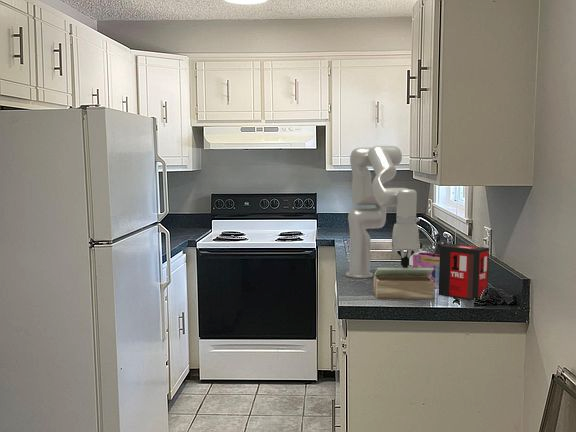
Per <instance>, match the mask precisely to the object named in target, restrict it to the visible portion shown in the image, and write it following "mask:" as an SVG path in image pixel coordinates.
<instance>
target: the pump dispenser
mask: <svg viewBox="0 0 576 432" xmlns="http://www.w3.org/2000/svg"><path fill="white" fill-rule="evenodd" d="M447 244H449V243H448V242H447V240H442V239H441V240H439V241H438V242H436V243H435V247H434V250H433V253H432V254H440V246H442V245H447Z"/></svg>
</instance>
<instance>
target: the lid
mask: <svg viewBox="0 0 576 432" xmlns="http://www.w3.org/2000/svg"><path fill="white" fill-rule="evenodd" d="M432 271H433V268H413V267H408V268H406V267H405V268H403V267H377V269H376V270H375V272H374V273H373V277H374V276H428V275H429V274H430V273H431V272H432Z"/></svg>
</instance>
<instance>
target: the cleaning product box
mask: <svg viewBox="0 0 576 432" xmlns="http://www.w3.org/2000/svg"><path fill="white" fill-rule="evenodd" d="M489 261H490V247H483V246H477V245H475V246H474V245H468V244H467V245H465V244H464V245H463V244H456V243H448V244H447V245H442V246H440V263H439V289H438V296H442V297H449V298H453V299H460V300H466V301H470V300H474V298H475V297H478V296H481V294H482V292H483V290H484V289H486V288H488V287H489V285H488V284H489V263H490V262H489Z"/></svg>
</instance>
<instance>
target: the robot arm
mask: <svg viewBox="0 0 576 432" xmlns="http://www.w3.org/2000/svg"><path fill="white" fill-rule="evenodd" d="M402 159H403V154H402V151H401V149H400V148H399V147H398V146H397V145H375V146H373V147H356V148H354V149H353V150H352V151H351V154H350V157H349V165H350V168H351V172H352V173H351V174H352V188H351V189H352V191H351V193H352V195H351V197H352V202H353V204H354V205H357V206H373V207H357V208H353V209H351V210H350V211H349V213H348V214H347V215H348V216H347V218H348V219H347V220H348V226H349V227H348V228H349V266H348V267H349V269H348V270H349V271H346V273H345V276H347V277H348V278H354V279H368V278H373V277H374V273H373V272H371V236H370V234H369V233H368V231H367V230H368V229H381V228H383V227H384V226H385V224H386V222H387V221H386V220H387V208H388V207H391V208H392V207H393V208H395V207H396V223H394V224H393V228H392V235H391V247H392V248H391V252H392V253H394V254H398V255H399V257H400V266H402V267H401V268H409V266H410V265H409V258H410V257H411V256H412V255H413V254H414V253H418V252H419V242H420V233H419V226H418V222H420V220H421V218H420V217H417V198H418V196H417V195H418V193H417V190H415V189H409V188H407V187H384V184H385V183H387V182H389V181H391V180H393V179H394V177H395V176H396V175H397V168H396V166H398V165H400V163H401V162H402ZM368 167H372V169H373V172H374V173H375V176H374V179H373V181H372V173H371V171H370V170H369V168H368ZM405 251H406V253H405Z"/></svg>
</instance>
